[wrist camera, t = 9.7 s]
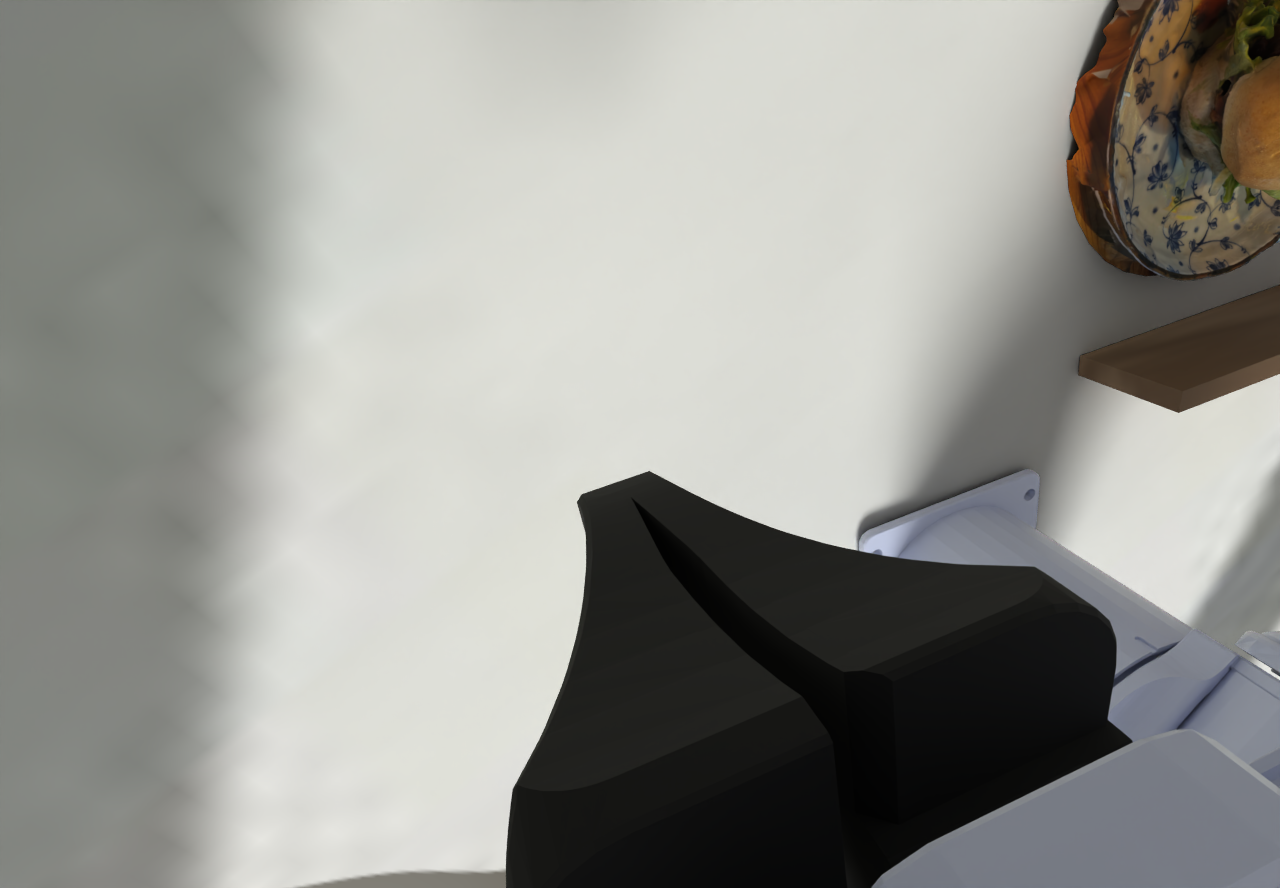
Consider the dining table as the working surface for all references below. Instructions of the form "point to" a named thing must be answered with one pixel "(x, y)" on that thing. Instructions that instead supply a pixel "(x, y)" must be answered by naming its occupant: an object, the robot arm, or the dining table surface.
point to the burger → (1181, 137)
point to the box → (1195, 355)
